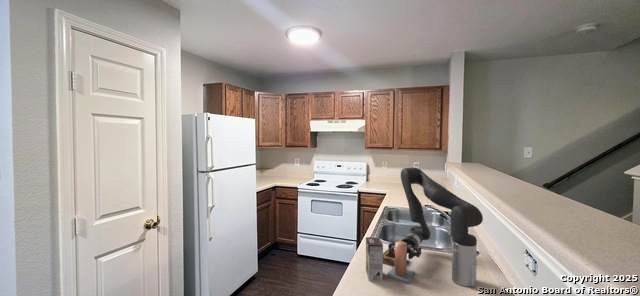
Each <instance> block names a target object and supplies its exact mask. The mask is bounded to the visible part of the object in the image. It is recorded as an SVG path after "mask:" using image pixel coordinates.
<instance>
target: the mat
mask: <svg viewBox="0 0 640 296" xmlns="http://www.w3.org/2000/svg"><path fill="white" fill-rule="evenodd" d="M415 276H416V272H415V271H412V270H408V269H406V276H404V277H401V276H397V275H396V274H395V266H392V268H391V269H390V270H389V271H388V272H387V273H386V274H385V277H386V278H387V279H391V280H393V281H397V282H401V283H404V284H407V285H409V284H410V282H411V281H412V280H413V278H414V277H415Z"/></svg>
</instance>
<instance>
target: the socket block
mask: <svg viewBox="0 0 640 296" xmlns="http://www.w3.org/2000/svg"><path fill="white" fill-rule="evenodd" d="M383 264H384V265H388V266H391V267H394V266H395V252H393V253H392V254H390V253H389V250H388V249H386V250H385V251H383Z"/></svg>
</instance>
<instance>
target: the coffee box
mask: <svg viewBox="0 0 640 296" xmlns="http://www.w3.org/2000/svg"><path fill="white" fill-rule="evenodd" d="M383 253H384V245H383V243H382V240H381V238H380V237H370V236H367V237H365V272H366V276H367V279H368V282H369V281H371V282H373V281H374V282H375V281H377V282H382V281H383V278H384V277H383V266H384V265H383V264H384V263H383Z"/></svg>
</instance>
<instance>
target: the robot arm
mask: <svg viewBox="0 0 640 296" xmlns="http://www.w3.org/2000/svg"><path fill="white" fill-rule="evenodd" d="M400 180H401V184H402V187H403V191H404V194H405V196H406V200H407V203H408V208H409V216H410V221H411V222H412V223H417V224H419V225H420V226H411V228H410V229H409V233H408V234H406V235H405V236H404V237H403V238H402V239H401V240H400V241H402V242H405V243H407V255H408V256H407V257H408V260H411V259H413V258H420V256H421V254H422V247H420V245H421V244H422V242H423V241H428V240H429V239H431V230H430V229H429V226H428V224H427V222H426V219H425V215H424V209H423V205H422V203H421V201H420V200H419V198H418V197H417V196H416V194H415V193H414V191H413V188H412V185H419V186H421V187H422V188H423V189H422V191H423V195H424V196H425V197H426V198H427V200H429V201H431V202H432V203H433V204H435V205H437V206H439V207H442V208H445V209H448V210H451V211H450V232H451V233H450V234H451V236H452V246H451V247H452V249H451V250H452V253H451V258H452V259H451V280H452V281H453V282H454V283H455V284H457V285H460V286H463V287H472V288H475V287H476V284H477V269H478V268H477V267H478V266H477V265H478V264H477V263H478V260H477V242H478V239H477V237H476V236H475V235H473V234H471V233H469V228H471V227H472V228H473V227H478V226H480V225H481V224H482V223H483V220H484V218H483V214H482V212H481V210H480V209H479V208H478V207H477V206H475V205H474V204H473V203H469V202H468V201H466V200H465V199H463V198H461V197H459V196H458V195H456V194H454V193H453V192H451V191H450V190H449V189H447V188H446V187H444V186H443V185H441V184H440V183H438V182H437V181H435V180H434V179H433V178H431V177H429V176H428V175H427V174H426V173H425V172H424V171H423V170H422V169H420V168H418V167H405V168H402V169H401V171H400ZM395 242H396V241H395V240H394V241H392V242H390V243H389V244H388V245H387V246H388V249H387V250H389V253H390V254H392V253H393V252H395Z"/></svg>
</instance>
